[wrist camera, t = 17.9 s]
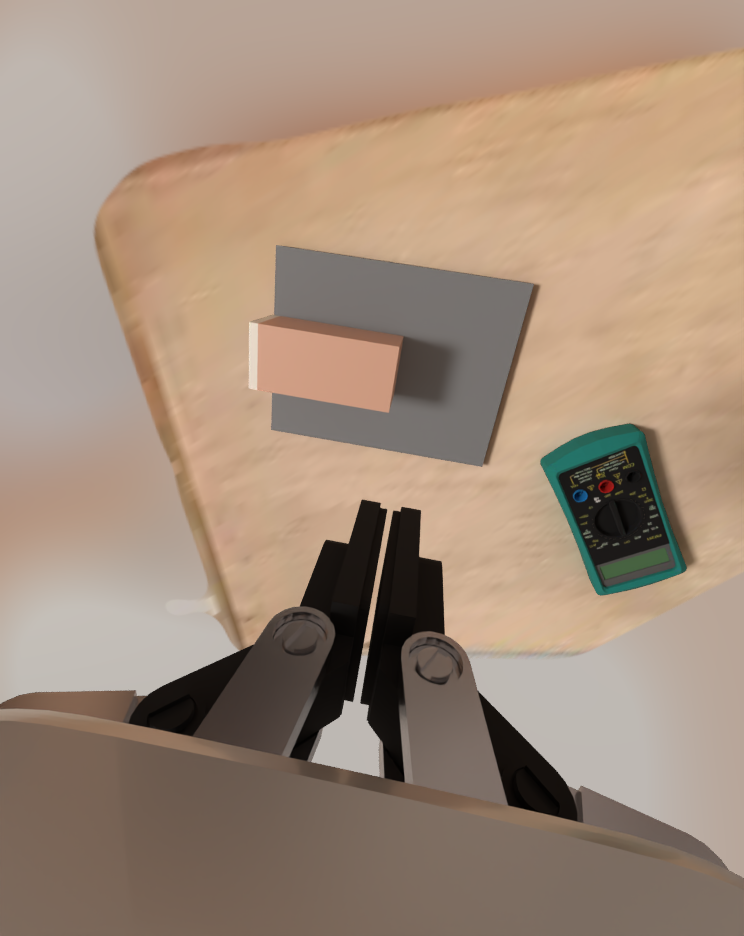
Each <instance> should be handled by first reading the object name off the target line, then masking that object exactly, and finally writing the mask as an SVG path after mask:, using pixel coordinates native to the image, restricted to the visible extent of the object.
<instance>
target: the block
mask: <svg viewBox="0 0 744 936" xmlns="http://www.w3.org/2000/svg"><path fill="white" fill-rule="evenodd" d="M403 337H404V336H400V335H394V334H388V333H382V332H375V331H369V330H363V329H357V328H351V327H345V326H339V325H333V324H326V323H320V322H314V321H308V320H302V319H296V318H290V317H283V316H277V315H270V316H267V317H264V318H260V319H257V320H254V321H251V322H249V389H254V390H260V391H266V392H272V393H277V394H283V395H289V396H295V397H300V398H306V399H312V400H318V401H324V402H329V403H335V404H341V405H347V406H352V407H358V408H364V409H370V410H375V411H381V412H387V413H389V410H390V407H391V403H392V400H393V396H394V391H395V385H396V379H397V373H398V367H399V361H400V355H401V349H402V343H403Z"/></svg>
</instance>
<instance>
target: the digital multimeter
mask: <svg viewBox="0 0 744 936" xmlns="http://www.w3.org/2000/svg"><path fill="white" fill-rule="evenodd" d="M540 462H541V466H542V468H543V470H544V472H545V474H546V476H547V478H548V480H549V482H550V484H551V486H552V488H553V490H554V492H555V494H556V496H557V499H558V501H559V503H560V505H561V507H562V509H563V512H564V514H565V516H566V518H567V520H568V523H569V525H570V528H571V530H572V533H573V535H574V538H575V540H576V543H577V545H578V548H579V550H580V553H581V556H582V559H583V562H584V565H585V567H586V570H587V573H588V576H589V579H590V581H591V583H592V585H593V587H594V589H595V591H596V593H597V594H598V595H608V594H613V593H618V592H622V591H627V590H631V589H636V588H639V587H643V586H646V585H650V584H653V583H656V582H659V581H662V580H665V579H668V578H670V577H673V576H676V575H678V574H681V573H683V572H685V571H686V568H687V567H686V564H685V562H684V559H683V557H682V554H681V552H680V549H679V546H678V544H677V541H676V539H675V536H674V534H673V531H672V528H671V526H670V523H669V520H668V517H667V514H666V511H665V508H664V505H663V502H662V499H661V496H660V492H659V488H658V485H657V481H656V478H655V474H654V470H653V467H652V463H651V459H650V455H649V451H648V446H647V442H646V438H645V435H644V433H643V432H642V431H640V430H639V429H638V428H637V427H635V426H634V425H632V424H624V425H619V426H614V427H608V428H604V429H600V430H597V431H593V432H589V433H587V434H584V435H582V436H579V437H577V438H574V439H573V440H571V441H569V442H567V443H565V444H564V445H562V446H560V447H558V448H557V449H555V450H554V451H552V452H551V453H549V454H548V455H546V456H545V457H543V458H542V459H541V461H540ZM561 485H562V486H561ZM563 490H564V491H563ZM630 499H631V500H630ZM635 501H636V502H635ZM568 502H569V503H568ZM638 503H639V504H638ZM644 514H645V516H644ZM642 523H643V524H642ZM631 534H632V535H631ZM629 535H630V536H629ZM624 537H625V538H624ZM620 538H621V539H620Z"/></svg>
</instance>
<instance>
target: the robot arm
mask: <svg viewBox="0 0 744 936" xmlns="http://www.w3.org/2000/svg"><path fill="white" fill-rule="evenodd" d="M380 505H381V503H378V502H373V501H367V500H362V501H361V504H360V508H359V511H358V514H357V518H356V521H355V524H354V528H353V531H352V535H351V538H350V541H349V544H346V543H341V542H336V541H330V540H326V541H325V542H324V545H323V547H322V550H321V552H320V555H319V558H318V560H317V563H316V565H315V568H314V571H313V573H312V576H311V578H310V581H309V584H308V586H307V589H306V591H305V594H304V597H303V599H302V602H301V604H300V607H292V608H289V609H285V610H283V611H281V612H280V613H278V614H276V615H275V616H274V617H273V618H272V619H271V621H270V622H269V623H268V624H267V626H266V627H265V629H264V630H263V632H262V633H261V635H260V636H259V638H258V639H257V641H256V642H255V644H254V645H252V646H249V647H247V648H245V649H243V650H241V651H238V652H236V653H234V654H232V655H230V656H227V657H225V658H223V659H221V660H219V661H216V662H214V663H212V664H210V665H208V666H206V667H203V668H201V669H199V670H197V671H194V672H192V673H190V674H188V675H186V676H184V677H182V678H179V679H177V680H175V681H173V682H170V683H168V684H166V685H164V686H162V687H160V688H159V689H157V690H155V691H153V692H152V693H150V694H149V695H148V696H137V694H136V691H135V690H134V691H82V692H35V693H29V694H23V695H19V696H16V697H14V698H12V699H9V700H7V701H5V702H3V703H2V704H0V936H744V878H742V877H741V876H739V875H737V874H735V873H733V872H731V871H729V870H728V868H727V867H726V866H725V864H724V863H723V862H722V860H721V859H720V858H719V857H718V856H717V855H716V854H715V853H714V852H713V851H712V850H710V848H708V847H707V846H706V845H705V844H704V843H702V842H701V841H699V840H697V839H696V838H694V837H693V836H691V835H689V834H687V833H685V832H683V831H681V830H679V829H676V828H674V827H672V826H670V825H667V824H665V823H663V822H661V821H659V820H656V819H654V818H652V817H650V816H647V815H645V814H643V813H641V812H639V811H636V810H634V809H632V808H630V807H627V806H625V805H623V804H621V803H619V802H616V801H614V800H612V799H610V798H607V797H605V796H603V795H601V794H599V793H596V792H594V791H592V790H590V789H588V788H585V787H583V786H580V788H579V790H576V789H573V788H571V787H569V786H567V784H566V782H565V781H564V780H563V778H562V777H561V776H560V775H559V774H558V772H557V771H556V770H555V769H554V768H553V767H552V766H551V765H550V764H549V763H548V762H547V761H546V760H545V759H544V758H543V757H542V756H541V755H540V754H539V753H538V752H537V751H536V749H534V748H533V747H532V745H531V744H530V743H529V742H528V741H527V740H526V739H525V738H524V737H523V736H522V735H521V734H520V733H519V732H518V731H517V730H516V729H515V728H514V727H513V726H512V725H511V724H510V723H509V722H508V721H507V720H506V719H505V718H504V717H503V716H502V715H501V714H500V713H499V712H498V711H497V710H496V709H495V708H494V707H493V706H492V705H491V704H490V703H489V702H488V701H487V700H486V699H485V698H484V697H483V696H482V695H481V694H480V693H479V692H478V690H477V687H476V683H475V679H474V676H473V672H472V668H471V664H470V661H469V659H468V656H467V654H466V652H465V651H464V650H463V649H462V647H461V646H460V645H459V644H458V643H457V642H455V641H454V640H453V639H451V638H450V637H447V636H445V630H444V602H443V574H442V562H441V561H436V560H431V559H426V558H421V557H419V544H420V520H421V510H416V509H411V508H405V507H402V508H401V512H399V511H393V515H392V520H391V526H390V531H389V537H388V542H387V547H386V553H385V558H384V564H383V569H382V574H381V580H380V585H379V591H378V597H377V603H376V609H375V615H374V622H373V628H372V634H371V640H370V646H369V653H368V659H367V665H366V671H365V677H364V683H363V690H362V696H361V702H360V703H361V704H366V705H369V709H368V716H367V720H368V723H369V725H370V726H371V727H372V729H373V730H374V731H375V733H376V734H377V736H378V737H379V738H380V745H379V769H380V777H377V776H372V775H367V774H363V773H358V772H354V771H349V770H344V769H340V768H335V767H331V766H326V765H322V764H317V763H312V762H311V761H312V758H313V756H314V753H315V751H316V748H317V746H318V743H319V741H320V738H321V734H322V729H323V727H324V726H326V725H328V724H329V723H331V722H332V721H334V720H336V719H337V718H339V717H340V715H341V714H342V709H343V704H344V700H347V701H351V702H353V699H354V693H355V688H356V682H357V677H358V671H359V665H360V660H361V654H362V649H363V643H364V638H365V632H366V626H367V621H368V615H369V610H370V604H371V598H372V593H373V587H374V582H375V576H376V570H377V565H378V559H379V553H380V548H381V542H382V536H383V531H384V525H385V519H386V514H387V509H383V508H380Z"/></svg>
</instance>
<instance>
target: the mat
mask: <svg viewBox="0 0 744 936" xmlns="http://www.w3.org/2000/svg"><path fill="white" fill-rule="evenodd" d="M533 285H534V284H531V283H525V282H518V281H511V280H505V279H498V278H491V277H485V276H478V275H471V274H465V273H458V272H451V271H445V270H438V269H432V268H425V267H418V266H412V265H405V264H398V263H392V262H385V261H378V260H372V259H365V258H358V257H352V256H345V255H338V254H332V253H325V252H318V251H312V250H305V249H298V248H292V247H285V246H278V245H276V270H275V308H274V315H277V316H283V317H290V318H296V319H302V320H308V321H314V322H320V323H326V324H333V325H339V326H345V327H351V328H357V329H363V330H369V331H375V332H382V333H388V334H394V335H400V336H404V337H403V343H402V349H401V355H400V361H399V367H398V373H397V379H396V385H395V391H394V396H393V400H392V403H391V407H390V410H389V413H387V412H381V411H375V410H370V409H364V408H358V407H352V406H347V405H341V404H335V403H329V402H324V401H318V400H312V399H306V398H300V397H295V396H289V395H283V394H277V393H272V423H271V430H275V431H281V432H287V433H293V434H298V435H304V436H310V437H315V438H321V439H327V440H333V441H338V442H344V443H350V444H355V445H361V446H367V447H373V448H378V449H384V450H390V451H395V452H401V453H407V454H413V455H418V456H424V457H430V458H435V459H441V460H447V461H453V462H458V463H464V464H470V465H475V466H481V467H482V465H483V462H484V458H485V455H486V451H487V448H488V444H489V441H490V437H491V434H492V430H493V427H494V423H495V420H496V416H497V412H498V409H499V405H500V402H501V398H502V395H503V391H504V388H505V384H506V381H507V377H508V374H509V370H510V367H511V363H512V360H513V356H514V352H515V349H516V345H517V342H518V338H519V335H520V331H521V328H522V324H523V321H524V317H525V314H526V310H527V307H528V303H529V299H530V296H531V292H532V289H533Z"/></svg>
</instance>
